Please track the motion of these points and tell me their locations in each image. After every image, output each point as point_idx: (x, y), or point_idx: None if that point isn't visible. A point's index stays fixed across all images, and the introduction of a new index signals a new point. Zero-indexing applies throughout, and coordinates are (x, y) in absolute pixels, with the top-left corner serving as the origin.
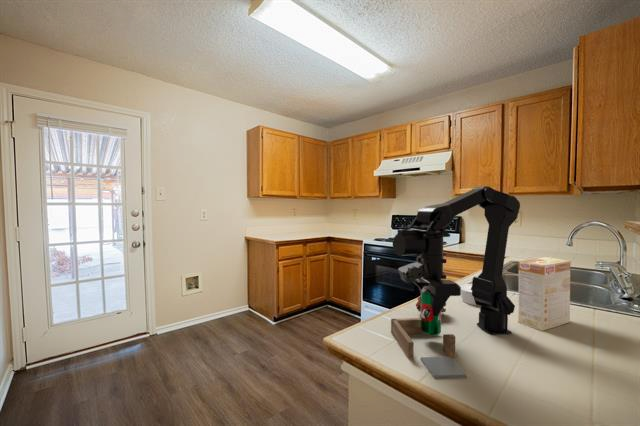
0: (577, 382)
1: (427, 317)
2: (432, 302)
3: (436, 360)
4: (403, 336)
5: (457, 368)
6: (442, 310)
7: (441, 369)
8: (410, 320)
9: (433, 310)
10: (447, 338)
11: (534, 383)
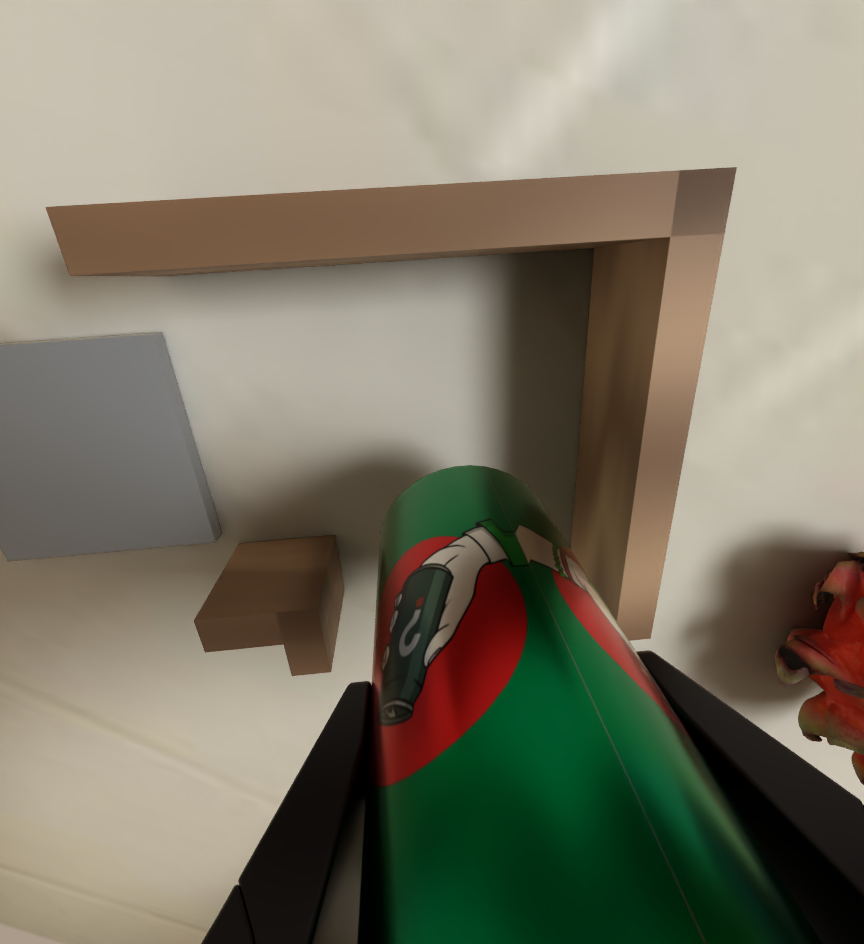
0: (144, 888)
1: (401, 594)
2: (259, 929)
3: (136, 442)
4: (233, 197)
5: (65, 538)
6: (810, 717)
7: (13, 435)
8: (644, 415)
9: (312, 753)
10: (244, 616)
11: (84, 785)
